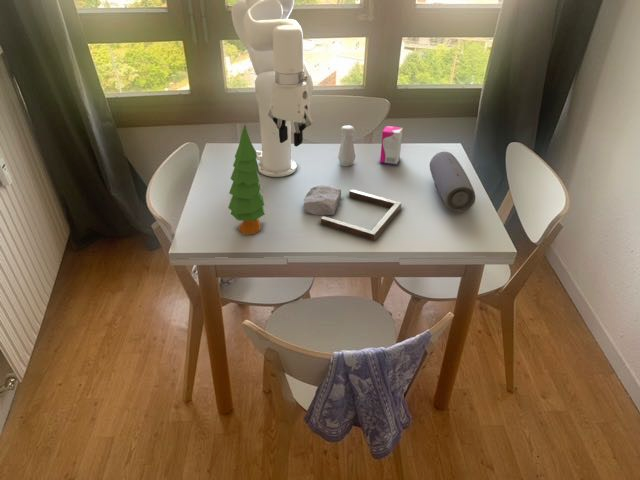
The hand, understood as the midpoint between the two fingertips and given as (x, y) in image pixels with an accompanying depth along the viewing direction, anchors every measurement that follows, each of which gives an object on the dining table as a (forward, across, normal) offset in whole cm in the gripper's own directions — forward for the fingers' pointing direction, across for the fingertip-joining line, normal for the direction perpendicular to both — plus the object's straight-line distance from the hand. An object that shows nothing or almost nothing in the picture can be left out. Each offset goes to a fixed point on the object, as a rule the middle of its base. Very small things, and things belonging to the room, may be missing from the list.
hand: (290, 142), depth 139 cm
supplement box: (+18, -16, -37) cm, 44 cm away
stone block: (+18, -10, 0) cm, 20 cm away
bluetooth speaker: (+18, -41, -23) cm, 50 cm away
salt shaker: (+18, -4, -28) cm, 33 cm away
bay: (+17, -23, 0) cm, 29 cm away
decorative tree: (+18, +1, +21) cm, 27 cm away
